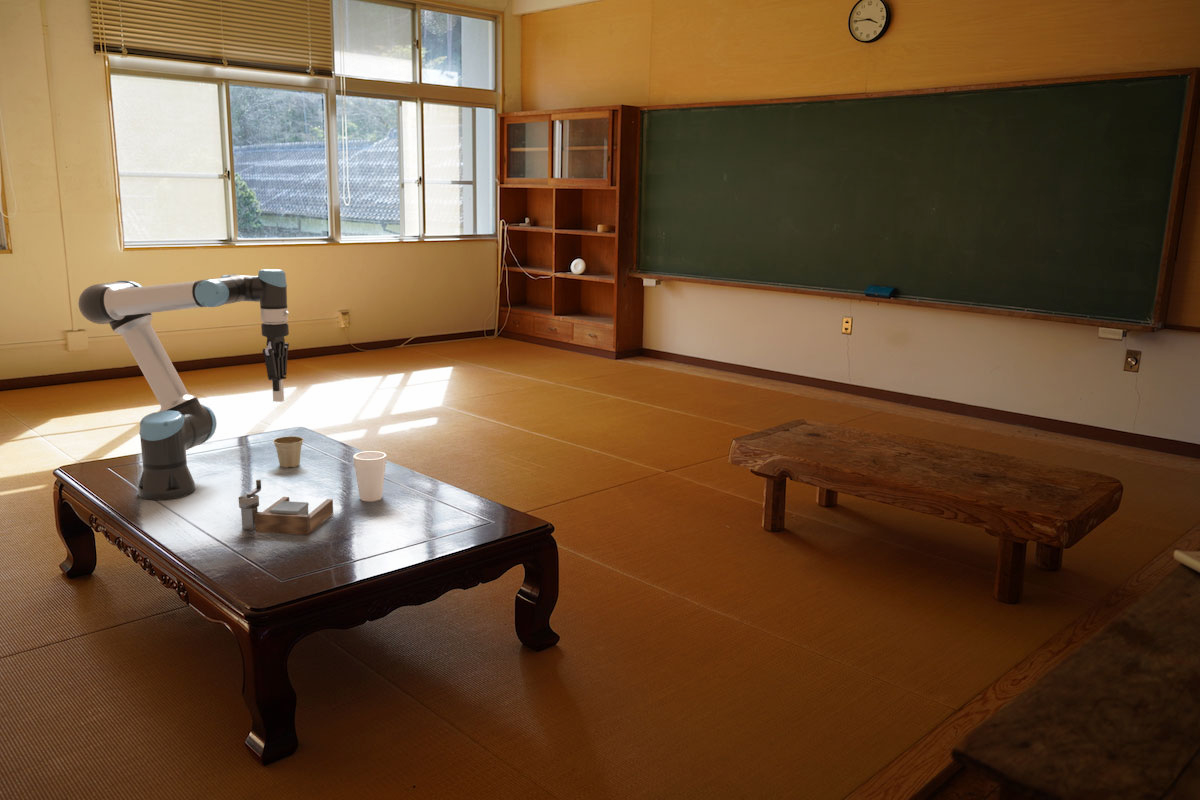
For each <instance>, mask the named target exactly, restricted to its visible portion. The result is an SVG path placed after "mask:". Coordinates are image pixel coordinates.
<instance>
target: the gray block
mask: <svg viewBox="0 0 1200 800" xmlns="http://www.w3.org/2000/svg"><path fill="white" fill-rule="evenodd" d="M309 505H310V503H309V502H307V501H305V502H304V501H290V500H289V501H282V502H281V503H279V504H278V505H277V506H275V507H274V508H273V509H271V513H285V514H303V515H308V514H309Z"/></svg>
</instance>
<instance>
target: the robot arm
mask: <svg viewBox="0 0 1200 800" xmlns="http://www.w3.org/2000/svg"><path fill="white" fill-rule="evenodd" d="M257 273H258V274H257V275H243V274H241V275H240V274H233V273H232V274H223V275H221V277H218V278H217V277H215V278H208V279H201V280H200V279H199V280H193V281H192V280H191V281H182V282H173V283H166V284H165V283H164V284H163V283H162V284H155V285H154V284H153V285H147V286H143V285H141V284H140V283H138V282H135V281H133V280H132V281H131V280H117V281H114V282H106V283H104V282H103V283H97V284H92V285H90V286H88V287H86V288H85V289H84V290H83V291H82V292H81V294H80V295H79V298H78V309H79V312H80V313H81V315H82V316H83V318H85V319H86V320H87V321H89V322H90V323H93V324H96V325H108V324H109V326H110V328H111V329H112V331H113V332H114V333H115V334H118V335H119V336H120V335H121V337H122V338H123V340H124V341H125V343H126V345H127V347H128V349H129V351H130V352H131V354H132V357H133V358H134V360H135V362H136V364H137V365H138V367H139V369H140V370H141V372H142V374H143V376H144V378H145V380H146V381H147V384H148V385H149V387H150V389H151V391H152V392H153V394H154V396H155V398H156V400H157V402H158V403H159V405H160V409H159V411H157V412H151V413H150V414H147V415H145V416H144V417H142V419H141V420H140V423H139V432H138V433H139V436H140V447H141V449H140V450H141V458H142V473H141V476H140V480H139V483H138V486H137V488H138V489H137V490H138V491H137V492H138V497H140V498H141V499H145V500H150V501H164V500H173V499H178V498H183V497H186V496H188V495H191V494H192V493H195V491H196V484H195V480H194V478H193V475H192V473H191V471H190V469H189V466H188V461H187V451H188V450H190V449H192V448H194V447H197V446H200V445H202V444H204V443H205V442H207V441H208V440H210V439H211V438H212V437H213V436H214V434H215V433H216V429H217V417H216V415H215V413H214V411H213V410H212V409H211V408H210V407H208V406H207V405H205V404H201V403H200V401H199V399H198V397H197V396H195V395H192V394H190V393H189V392H188V390H187V388H186V386H185V384H184V383H183V381H182V379H181V377H180V376H179V373H178V371H177V370H176V368H175V366H174V365H173V362H172V361H171V359H170V357H169V355H168V353H167V351H166V349H165V348H164V346H163V344H162V342H161V341H160V339H159V337H158V335H157V333H156V331H155V329H154V328H153V325H152V320H153V317H154V316H153V314H154V313H161V312H170V311H171V312H172V311H181V310H189V309H198V308H216V307H220V306H223V305H229V304H234V303H240V302H259V305H260V306H259V307H260V321H261V322H262V323H261V326H260V327H261V335H262V337H265V338H266V348H262V354H263V357H264V361H265V367H266V373H267V379H268V380H269V381H271V382H272V383H271V384H272V385H271V387H272V402H276V403H277V402H281V403H282V402H284V401H285V394H284V393H285V391H284V389H285V388H284V380H286V379H287V375H288V374H287V373H288V372H287V371H288V369H287V368H288V354H289V347H290V344H289V343H288V342H286V339H285V337H288V335H290V334H289V333H290V332H289V331H290V330H289V323H288V321H289V316H288V315H290V312H289V311H288V295H287V288H288V283H287V276H286V272H285V271H284V270H283V269H276V268H272V269H271V268H263V269H260V270H258V272H257ZM152 313H153V314H152Z"/></svg>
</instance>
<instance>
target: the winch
mask: <svg viewBox="0 0 1200 800" xmlns="http://www.w3.org/2000/svg"><path fill="white" fill-rule="evenodd" d="M255 484H256V486H255V487H256V488H254V489H252V490H251V491H250V492H248V493H246V494H243V495H240V496H238V508H240V511H241V512H240V513H241V529H242V530H251V531H252V530H253V531H254V530H255V513H257V512H259V510H258V507H260V497H259V495H258V493H259V492H261V490H262V480H261V479H256V480H255Z"/></svg>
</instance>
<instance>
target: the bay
mask: <svg viewBox="0 0 1200 800" xmlns="http://www.w3.org/2000/svg"><path fill="white" fill-rule="evenodd" d="M282 501H290V497H289V496H282V497H281V498H280V499H279V500H277V501H276V502H274V503H273V504H271V505H270V506H269V507H267V508H266V509H264V510H263V511H258V512H257V513H255V529H254V530H255V533H264V534H283V535H284V534H285V535H287V534H288V535H301V536H302V535H303V536H308V535H310V534H311V533H312V532H313V531H315V528H316V529H317V528H318V527H319V526H321V524H323V521H324V520H325V519H326V518H327V519H328V518H329V517H330V516H332V515H333V514H334V503H333V502H334V500H333V499H332V498H330V499H329V498H326V499H325V500H324V501H323V502H322V503H320V504H319V505H318V506H317V507H316V508H314V509H313V510H312V511H311V512H309V513H308V515H303V514H285V513H271V509H273V508H274V507H275V506H277V505H278V504H279V503H281V502H282ZM332 513H333V514H332ZM327 519H326V520H327ZM326 520H325V521H326ZM325 521H324V522H325Z"/></svg>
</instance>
